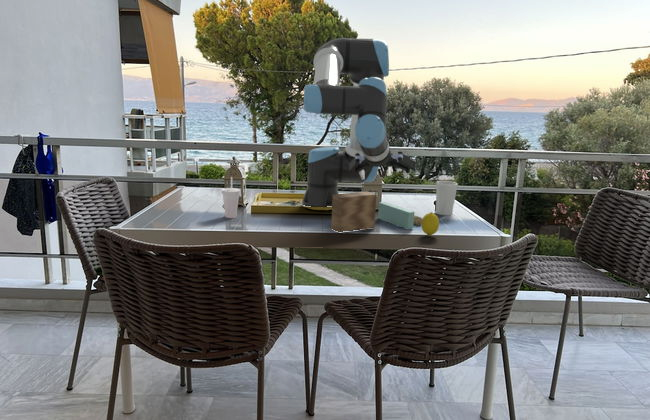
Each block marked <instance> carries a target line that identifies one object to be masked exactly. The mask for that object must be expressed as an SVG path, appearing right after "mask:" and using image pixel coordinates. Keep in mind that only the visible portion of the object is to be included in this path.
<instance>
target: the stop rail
mask: <svg viewBox="0 0 650 420" xmlns="http://www.w3.org/2000/svg"><path fill="white" fill-rule="evenodd" d="M377 214H378V216H377V218H378V219H379V220H380V219H381V220H380V221H383V222H386V223H388V222H389V224H391V223H392V224H391V225H394V224H395V225H394V226H396V225H398V226H397V227H399V226H401V227H404V228H407V229H410V230H413V229H414V225H415V224H414V215H415V211H413V210H411V209H407V208H403V207H401V206H398V205H394V204H392V203H389V202H386V201H380V202H378V213H377ZM378 219H377V220H378ZM401 227H400V228H401ZM404 228H403V229H404ZM412 228H413V229H412ZM407 229H406V230H407Z"/></svg>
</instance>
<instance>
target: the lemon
mask: <svg viewBox="0 0 650 420" xmlns="http://www.w3.org/2000/svg"><path fill="white" fill-rule="evenodd" d="M420 226H421V229H422V232H424V234H426V235H427V236H428V237H431V236H432V235H434V234H436V233H437V232H438V231H439V227H440V220H439V217H438V216H437V215H436V213H433V212H428V213H427V214H425V215H424V216H423V217H422V224H421V225H420Z"/></svg>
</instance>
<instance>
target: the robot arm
mask: <svg viewBox="0 0 650 420" xmlns="http://www.w3.org/2000/svg"><path fill="white" fill-rule="evenodd" d="M389 57H390V56H389V46H388V43H387V42H386V41H385V40H384V39H375V38H357V37H356V38H348V37H340V38H339V37H338V38H334V39H331V40H329V41H328V42H325V43H323V45H321V46H320V47H319V48H318V49H317V50H316V52H315V54H314V57H313V67H314V70H315V72H314V79H313V84H305V86H304V90H303V110H304V111H305V112H306V113H310V114H316V115H320V114H321V115H322V114H323V115H347V116H348V115H351V121H350V133H349V134H350V135H349V143H348V144H347V145H346V146H345V148H344V150H340V147H338V146H324V147H323V146H322V147H317V148H313V149H311V150H309V152H308V159H307V166H308V167H307V185H306V186H307V187H306V189H305V192H304V194H303V198H302V200H301V201H302V202H301V204H303V205H305V206H311V207H327V206H332V201H333V195H334V194H340V193H339V189H338V183H339V182H343V183H345V182H346V183H347V182H348V183H361V184H364V182H370V183H372V181H373V182H374V181H375V180H376V177H377V174H378V170H379V167H382V166H384V167H385V166H386V167H389V168H391V167H394V168H396V169H400V170H402V172H403V176H404V179H405V180H407V179H408V174H410V173H411V170H412V171H414V170H415V171H416V161H415V160H414V159H412V158H410V157H408V156H407V155H405V153H403V151H397V153H396V154H394V153H392V152H391V148H390V144H389V140H388V137H387V100H388V96H387V85H386V82H385V81H384V80H385V79H384V77H385V78H387V77H389V74H390V61H389V60H390V59H389ZM341 75H346V76H347V75H348V76H349V80H350V82H351V83H352V84H353V85H340V80H341V78H340V77H341Z"/></svg>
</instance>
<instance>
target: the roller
mask: <svg viewBox="0 0 650 420" xmlns="http://www.w3.org/2000/svg"><path fill="white" fill-rule="evenodd" d="M422 219H423V217H421V216H419V215H415V214H414V224H413V225H415V224H416V226H421V224H422Z"/></svg>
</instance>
